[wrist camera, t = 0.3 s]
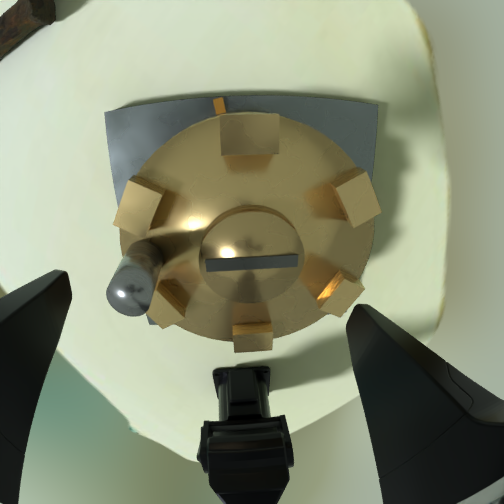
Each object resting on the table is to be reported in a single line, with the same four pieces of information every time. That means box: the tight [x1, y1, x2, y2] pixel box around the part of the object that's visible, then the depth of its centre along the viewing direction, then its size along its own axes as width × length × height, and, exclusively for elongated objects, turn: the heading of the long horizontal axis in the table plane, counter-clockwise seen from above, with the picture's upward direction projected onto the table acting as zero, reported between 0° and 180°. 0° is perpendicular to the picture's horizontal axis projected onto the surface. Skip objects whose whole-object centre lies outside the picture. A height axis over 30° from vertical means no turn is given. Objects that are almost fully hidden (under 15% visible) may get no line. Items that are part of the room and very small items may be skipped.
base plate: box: [104, 95, 378, 325], centre depth 20 cm, size 18×18×2 cm
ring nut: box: [106, 111, 382, 353], centre depth 17 cm, size 16×16×7 cm
